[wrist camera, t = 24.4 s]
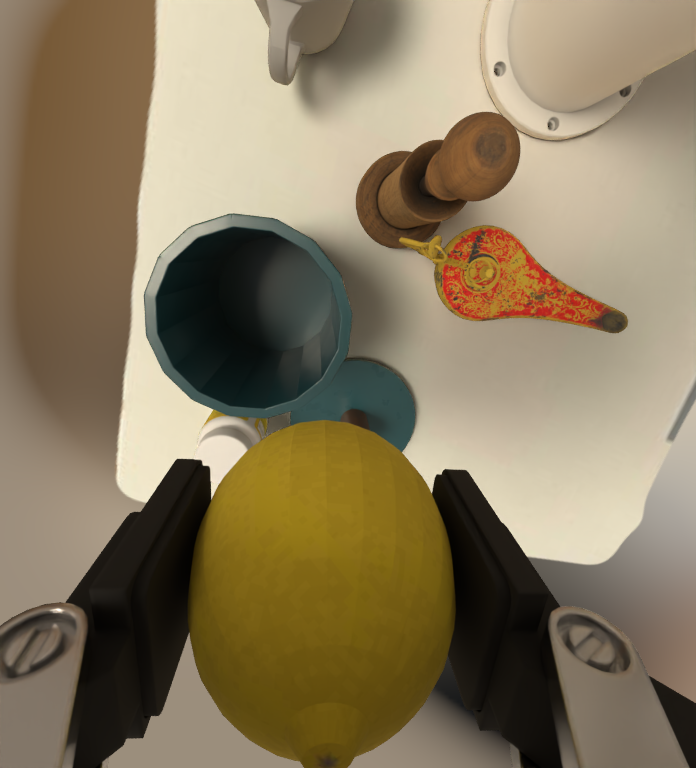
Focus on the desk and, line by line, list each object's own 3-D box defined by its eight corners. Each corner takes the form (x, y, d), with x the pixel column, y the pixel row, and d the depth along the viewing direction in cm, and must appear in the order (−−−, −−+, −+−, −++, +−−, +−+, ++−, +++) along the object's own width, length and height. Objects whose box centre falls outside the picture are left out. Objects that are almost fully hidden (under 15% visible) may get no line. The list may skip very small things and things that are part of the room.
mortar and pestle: (340, 221, 31) (368, 188, 14) (380, 139, 30) (466, -9, 13) (412, 262, 33) (514, 276, 16) (454, 186, 31) (618, 109, 14)
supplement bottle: (204, 412, 36) (172, 459, 28) (242, 378, 35) (219, 416, 27) (244, 447, 37) (224, 501, 29) (280, 415, 36) (270, 461, 28)
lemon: (441, 436, 13) (615, 705, 5) (344, 556, 14) (375, 909, 7) (293, 344, 12) (247, 527, 4) (202, 485, 13) (36, 826, 5)
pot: (212, 222, 31) (138, 201, 18) (344, 237, 32) (362, 228, 19) (212, 350, 34) (149, 410, 21) (332, 360, 35) (340, 424, 22)
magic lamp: (553, 349, 36) (649, 389, 26) (368, 282, 33) (391, 297, 23) (591, 275, 34) (711, 285, 24) (398, 197, 31) (439, 170, 21)
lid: (295, 351, 34) (290, 372, 29) (421, 362, 36) (442, 384, 30) (287, 465, 38) (282, 505, 32) (402, 472, 39) (418, 511, 33)
